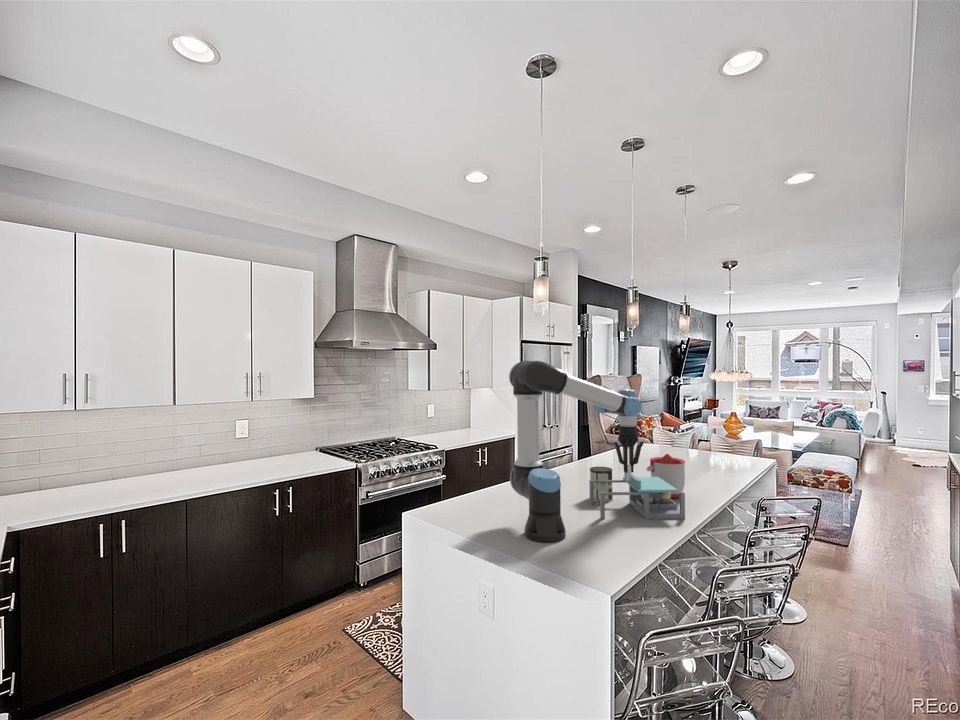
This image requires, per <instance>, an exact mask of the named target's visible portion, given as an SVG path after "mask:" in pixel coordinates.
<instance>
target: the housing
mask: <svg viewBox="0 0 960 720" xmlns="http://www.w3.org/2000/svg"><path fill="white" fill-rule="evenodd" d="M664 481H665V482H666V480H664ZM588 483H589V486H588V487H589V488H588V489H589V491H588V492H589V504H590V505H594V502H595V501H594V489H593V483H612V484H613V483H616V484H617V483H618V484H619V483H626V482H625V481H624V480H623V479H612V480H590V479H589V482H588ZM628 485H629V484H628ZM628 489H629V490H628V491H617V492H616V491H612V492H600V502H599V512H600V515H599V518H600V520H605V519H606V517H605V516H606V513H605V512H606V510H605V509H606V507H605V505H606V503H605V495H613V496H628V497H629V498H628V499H629V500H628V501H629V504H630V505H631V506H632V507H633V508H634V509H635V510H636V511H637V512H638V513H639V514H640V515H641V516H642V517H643V518H644V519H646V520H679V519H681V520H682V519H683V520H685V519H686V493H685V491H683V492H680V497H679V508H678V503H676V501H675V502H674V501H673V500H672V499H671V504H660V492H653V504H649V493H648V492H637V491H636V490H635V489H634V488H632V487H631V486H630V485H629V487H628ZM642 495H644V504H642Z"/></svg>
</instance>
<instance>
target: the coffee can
mask: <svg viewBox="0 0 960 720" xmlns="http://www.w3.org/2000/svg"><path fill="white" fill-rule="evenodd" d="M589 480H613V468H611V467H607V466H593V467H589ZM593 489H594V502H599V503H600V492H613V483H593ZM613 496H614V495H605V502H606V503H607V502H611V501H613V499H614V497H613Z"/></svg>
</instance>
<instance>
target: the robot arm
mask: <svg viewBox="0 0 960 720" xmlns="http://www.w3.org/2000/svg"><path fill="white" fill-rule="evenodd" d="M508 374H509V375H508V380H509V382H510V385H511V386H512V387H513V389H512V391H513V395H512V396H514V398H516V405H517V406H516V407H517V408H516V412H517V414H516V415H517V418H516V420H517V423H516V424H517V425H516V427H517V430H516V431H517V459H516V460H515V461H514V462H513V469H512V470H511V472H510V474H509V475H510V476H509V483H510V486H511V488H512V489H513V490H514V491H515V493H517V494H518V495H520V497H521V496H522V497H523V498H526V499H527V500H528V516H527V520H526V523H525V526H524V536H525V537H526V538H527V539H529V540H531V541H535V542H540V543H555V542H560V541H563V540H564V539H566V536H567V535H566V534H567V533H566V527H565V523H564V521H563V518H562V513H561V512H562V511H561V502H562V501H561V500H562V499H561V485H562V484H561V478H560V474H559V473H558V472H557V471H555V470H553V469H548V468H544V463H543V461H541V459H540V416H539V415H540V401H539V400H540V398H541V397H542V396H543V392H544V393H545V392H546V393H550V394H553V395H556V396H557V395H560V394H562V395H565V396H567V397H571V398H574V399H577V400H580V401H582V402H585V403H588V404H590V405H592V406H593V410H594V411H595V412H596V413H598V414H612V415H618V424H619V426H618V437H617V439H616V440H613V441H612V444H613V445H614V447H615V451H616V456H617V459H618V462H619V464H620V465H623V472H625V473H626V480H627V481H631V474H633V473H634V465H638V463H639V459H640V454H641V450H642V447H643V445H644V444H645V443H644V441H642V440H640V439H639V437H638V427H637V425H638V415H640V413H641V412H642V408H643V407H642V402H641V400H640V399H638V398H637V395H638V394H637V392H636V390H635V389H619V390H618V392H615V391H613V390H610V389H609V388H605V387H603V386H600V385H597V384H594V383H591V382H589V381H587V380H584V379H581V378H578V377H575V376H573V375H570V374H568V372H567V370H564V369H562V368H559V367H557V366H554V365H552V364H549V363H547V362H545V361H541V360H522V361H519V362H516V363H515V364H514V365H513V366H512V367H511V368H510V371H509V373H508ZM636 444H637V445H636ZM620 445H621V446H622V449H623V450H622V451H621V447H620ZM635 445H636V448H635ZM634 448H635V449H634ZM634 450H635V452H634ZM628 459H629V460H628ZM628 461H629V462H628Z"/></svg>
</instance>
